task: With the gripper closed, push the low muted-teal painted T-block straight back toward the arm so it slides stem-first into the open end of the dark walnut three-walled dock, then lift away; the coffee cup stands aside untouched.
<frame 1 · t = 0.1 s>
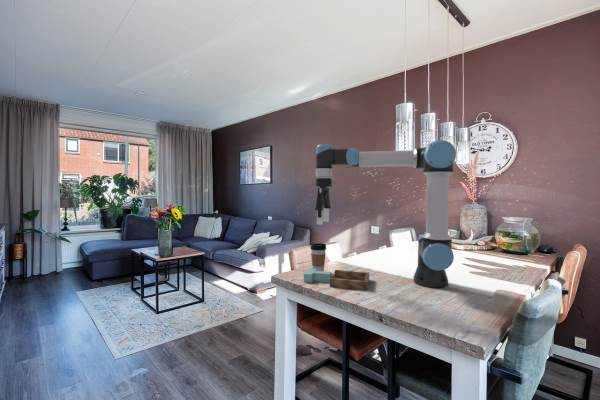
hand: (323, 223, 143), 28 cm above the table, fingers open, 13 cm apart
coffee cup: (318, 272, 161), on the table
tee block: (318, 280, 147), on the table
dock: (349, 282, 143), on the table
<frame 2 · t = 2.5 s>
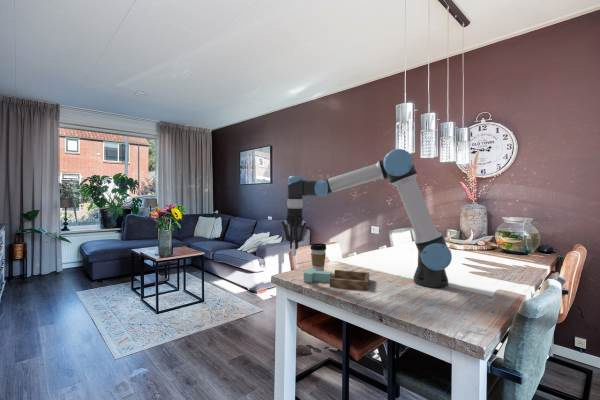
hand: (293, 255, 150), 11 cm above the table, fingers closed
nothing on the table moved.
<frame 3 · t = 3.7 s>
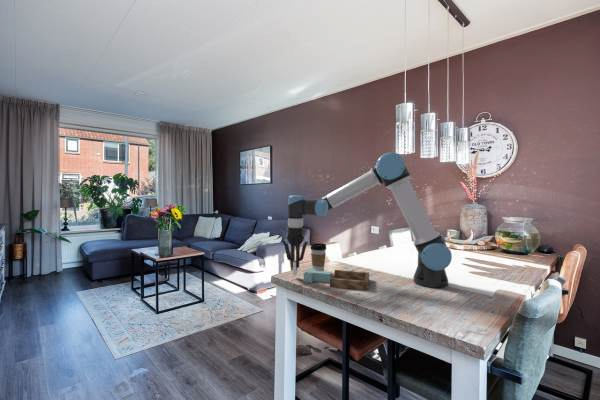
hand: (295, 274, 150), 2 cm above the table, fingers closed
nothing on the table moved.
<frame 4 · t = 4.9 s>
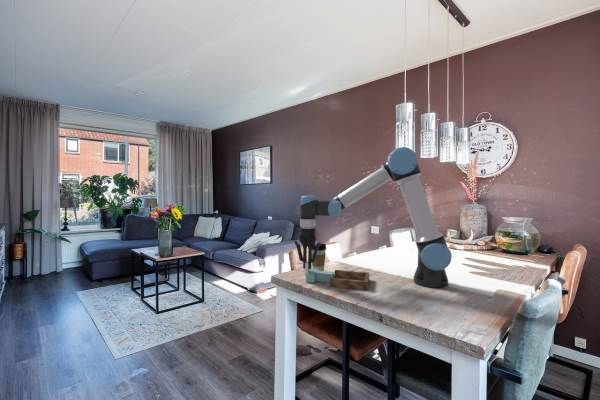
hand: (307, 275, 149), 2 cm above the table, fingers closed
tee block: (320, 280, 147), on the table
everything else where it was.
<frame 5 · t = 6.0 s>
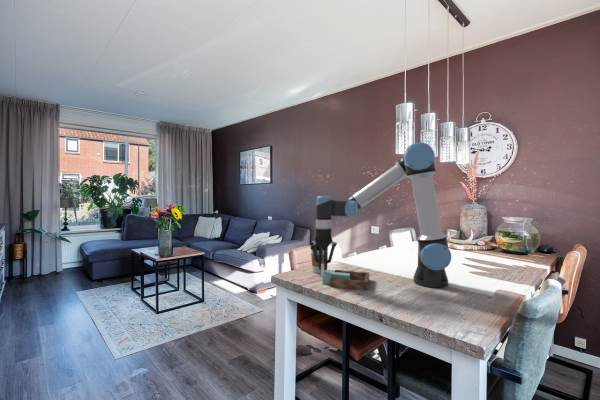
hand: (322, 276, 146), 2 cm above the table, fingers closed
tee block: (336, 281, 145), on the table
everything else where it was.
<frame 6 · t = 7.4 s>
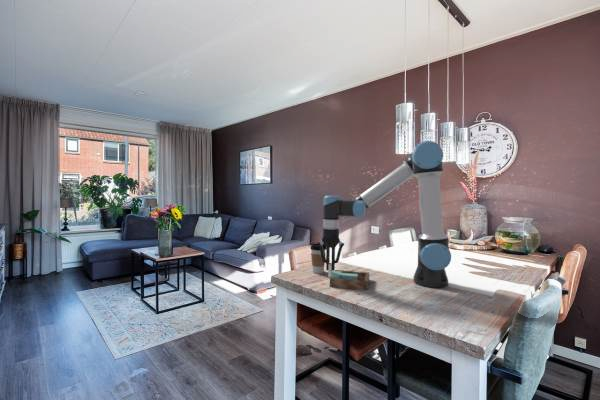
hand: (330, 277, 146), 2 cm above the table, fingers closed
tee block: (344, 282, 144), on the table, touching gripper
everything else where it was.
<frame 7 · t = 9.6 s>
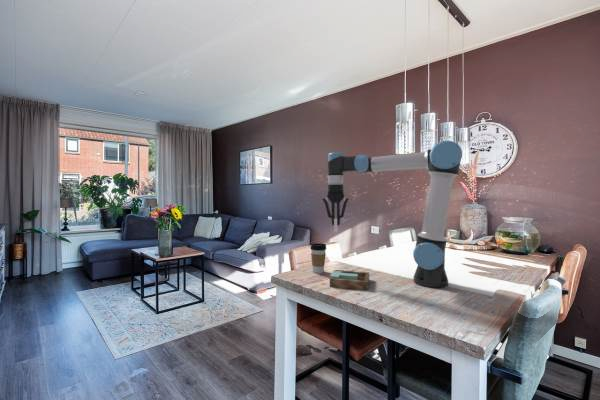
hand: (335, 231, 151), 23 cm above the table, fingers closed
tee block: (344, 282, 144), on the table
everything else where it was.
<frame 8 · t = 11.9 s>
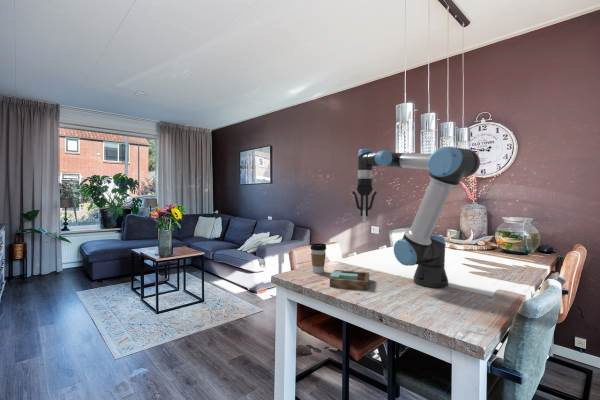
hand: (364, 222, 163), 26 cm above the table, fingers closed
nothing on the table moved.
at the end: tee block inside the target area (1.9 cm from its centre), on the table; tee block tilted 0° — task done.
